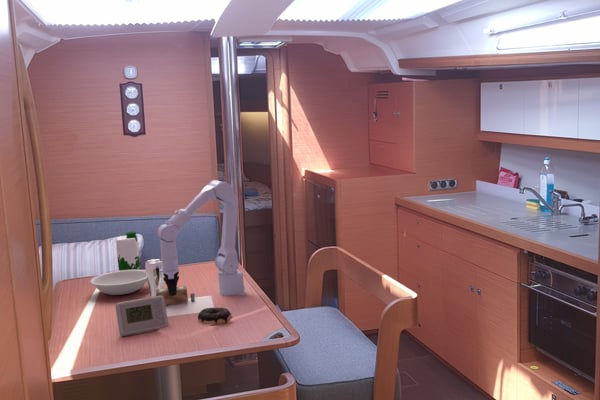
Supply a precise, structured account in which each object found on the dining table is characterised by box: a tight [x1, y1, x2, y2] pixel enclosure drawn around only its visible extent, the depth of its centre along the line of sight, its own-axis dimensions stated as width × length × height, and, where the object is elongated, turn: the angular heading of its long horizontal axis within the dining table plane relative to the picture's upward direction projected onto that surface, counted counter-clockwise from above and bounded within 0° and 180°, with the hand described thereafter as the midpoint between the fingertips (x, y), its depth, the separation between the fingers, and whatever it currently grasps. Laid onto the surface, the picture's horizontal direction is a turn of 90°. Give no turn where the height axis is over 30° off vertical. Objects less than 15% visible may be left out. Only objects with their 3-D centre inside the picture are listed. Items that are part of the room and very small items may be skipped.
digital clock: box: [115, 296, 169, 337], centre depth 226 cm, size 16×9×11 cm, turn 101°
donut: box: [197, 307, 232, 327], centre depth 232 cm, size 11×12×4 cm
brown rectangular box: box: [156, 285, 189, 304], centre depth 252 cm, size 11×5×5 cm, turn 101°
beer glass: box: [144, 258, 165, 297], centre depth 262 cm, size 7×7×15 cm
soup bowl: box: [89, 269, 147, 296], centre depth 276 cm, size 24×24×7 cm
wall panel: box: [165, 292, 215, 318], centre depth 248 cm, size 22×20×4 cm
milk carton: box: [115, 231, 141, 271], centre depth 298 cm, size 9×9×20 cm
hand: (172, 293), depth 252 cm, fingers closed on brown rectangular box, 5 cm apart
